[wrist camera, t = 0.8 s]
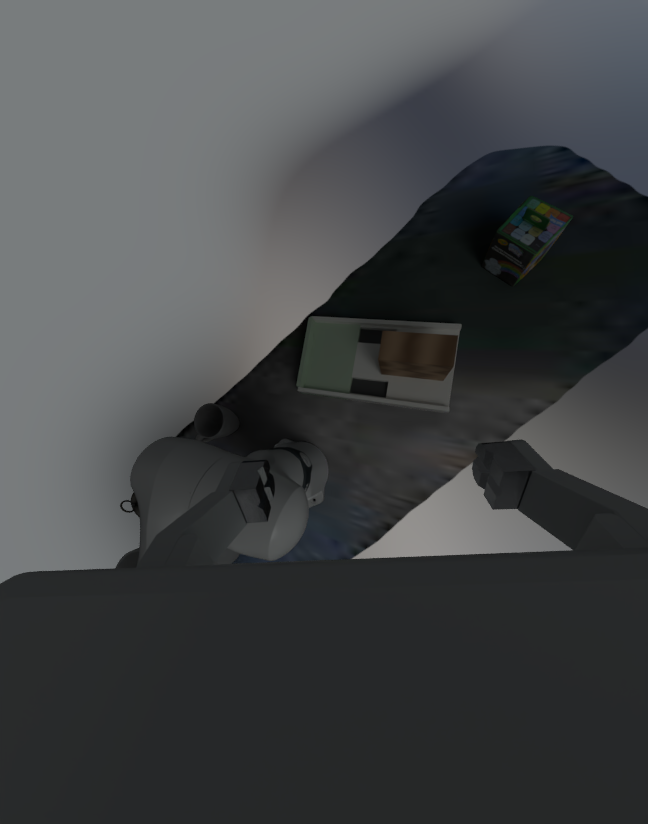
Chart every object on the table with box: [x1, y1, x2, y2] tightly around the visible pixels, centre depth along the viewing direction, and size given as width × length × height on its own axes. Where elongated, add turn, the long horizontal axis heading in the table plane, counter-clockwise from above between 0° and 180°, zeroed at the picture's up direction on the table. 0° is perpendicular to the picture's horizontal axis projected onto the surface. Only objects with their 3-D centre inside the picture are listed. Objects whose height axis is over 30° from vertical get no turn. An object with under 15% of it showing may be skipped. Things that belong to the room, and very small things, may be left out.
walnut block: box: [378, 331, 458, 381], centre depth 58 cm, size 14×6×12 cm, turn 80°
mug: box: [194, 403, 239, 443], centre depth 72 cm, size 12×9×10 cm
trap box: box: [296, 316, 462, 413], centre depth 66 cm, size 36×20×4 cm, turn 80°
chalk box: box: [482, 196, 573, 286], centre depth 55 cm, size 9×9×15 cm
